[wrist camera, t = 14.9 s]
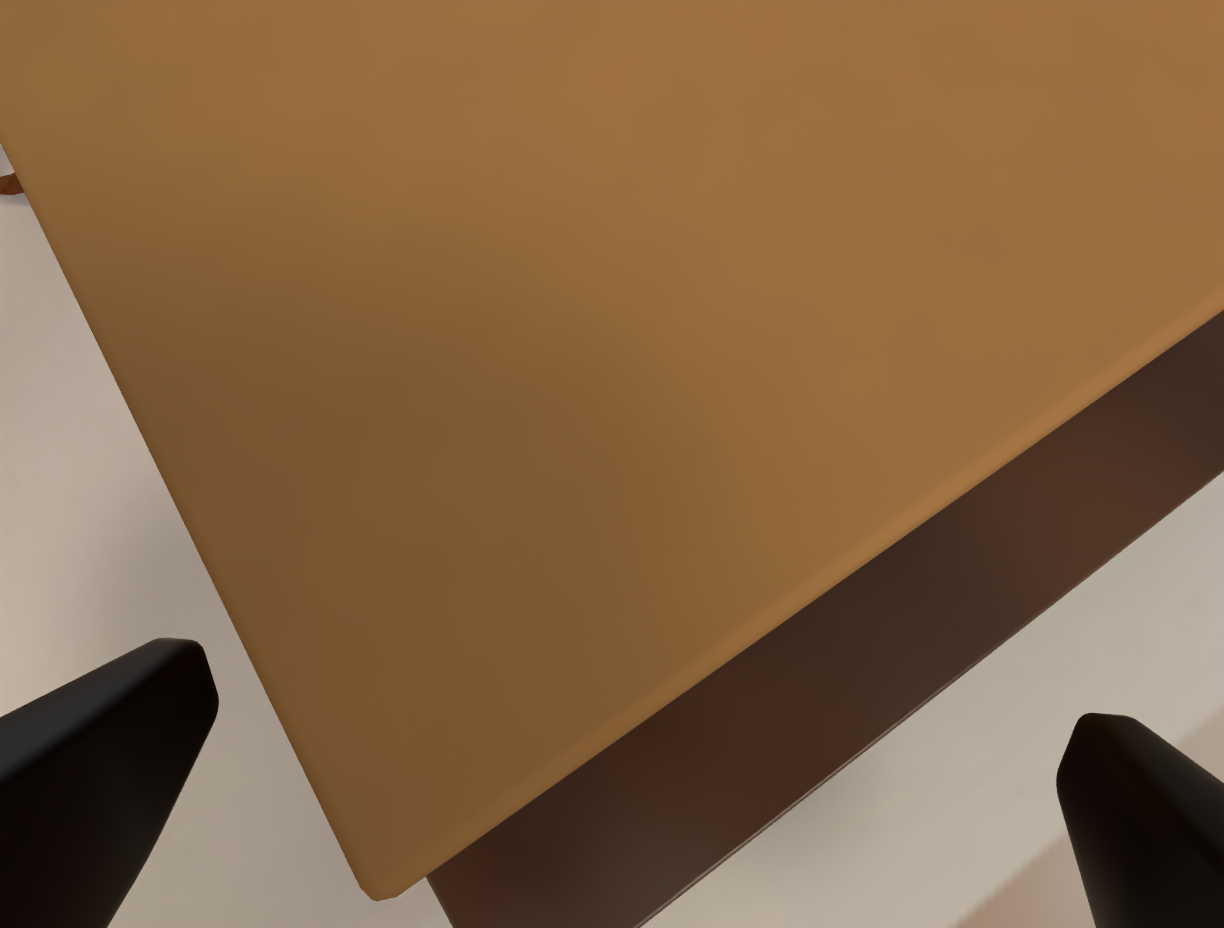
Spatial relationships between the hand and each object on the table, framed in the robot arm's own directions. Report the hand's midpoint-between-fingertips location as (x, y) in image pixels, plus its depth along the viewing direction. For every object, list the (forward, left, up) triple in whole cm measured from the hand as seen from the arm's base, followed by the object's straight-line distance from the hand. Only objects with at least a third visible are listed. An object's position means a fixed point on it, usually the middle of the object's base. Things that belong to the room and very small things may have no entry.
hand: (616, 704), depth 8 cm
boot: (+8, -2, -8) cm, 12 cm away
